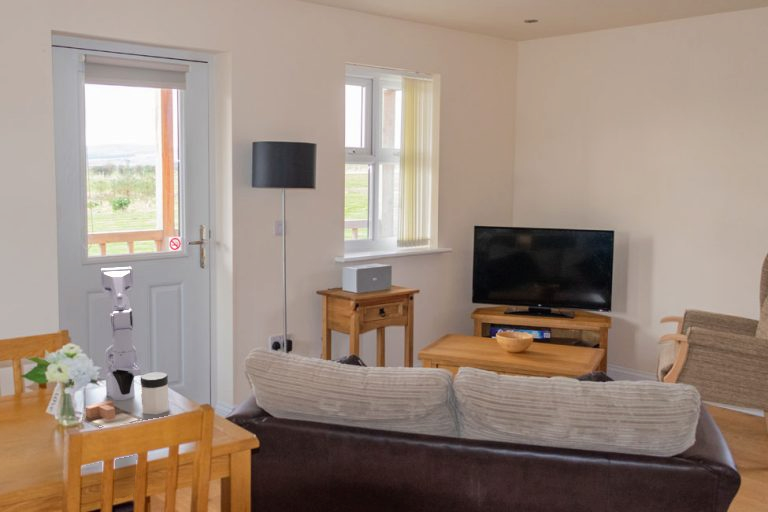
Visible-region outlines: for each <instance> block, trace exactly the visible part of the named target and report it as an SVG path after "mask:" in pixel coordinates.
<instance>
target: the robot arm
mask: <svg viewBox="0 0 768 512" xmlns="http://www.w3.org/2000/svg"><path fill="white" fill-rule="evenodd" d="M100 286H101V290H102V293H104V294H107V295H108V296H109V298H110V299H109V308H110V309H109V310H110V313H109V326H110V331H111V337H112V344H111V345H110V346H109V347H107V348H106V350H105V351H104V352H105V357H104V358H105V372H106V373H107V375H106V376H105V390H106V396H108V397H111V399H112V400H116V401H123V400H130V399H132V398H134V397H135V377H136V376H140V375H141V368H140V367H138V355H137V349H136V347H135V346H134V341H133V340H134V339H133V329H134V327H135V326H134V324H135V323H134V313H133V310H132V308H131V302H130V298H129V296H127V293H129V292H131V291H132V289H133V286H134V272H133V267H131V266H123V267H105V268H104V267H102V268H101V269H100Z"/></svg>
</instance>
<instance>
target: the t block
mask: <svg viewBox="0 0 768 512" xmlns="http://www.w3.org/2000/svg"><path fill="white" fill-rule="evenodd" d="M114 406H115V403H114V401H112V400H106V401H101V402H98V403H94V404H91V405H87V406H85V411H86V416H87V417H89V418H92V417H96V416H101V417H103V418H105V419H107V420H109V419H112V418H115V408H114Z"/></svg>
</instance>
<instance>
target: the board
mask: <svg viewBox="0 0 768 512" xmlns="http://www.w3.org/2000/svg"><path fill="white" fill-rule="evenodd" d="M114 408H115V418H112V419H109V420H107V419H105V418H103V417H101V416H96V417H92V418H89V417H87V416H86V410H85V411H83V412H84V413H83V417H82V420H81V421H83V422H85V423H87V424H90V425H92V426H94V427H96V428H97V427H98V428H97V429H100V428H102V427H108V426H116V425H120V424H126V423H130V424H132V423H131V422H134V423H137V422H140V421H143V420H145V418H143V417H141V416H139V415H136V414H135V413H131V412H129V411H126V410H124V409H122V408H120V407H117V406H115V405H114ZM140 419H142V420H140ZM136 421H137V422H136ZM99 426H102V427H99Z"/></svg>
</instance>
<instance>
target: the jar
mask: <svg viewBox="0 0 768 512" xmlns="http://www.w3.org/2000/svg"><path fill="white" fill-rule="evenodd" d="M168 378H169V376H168V373H166V372H162V371H161V372H159V371H155V372H154V371H152V372H148V373H144V374H142V375H141V376H140V386H141V394H140V395H141V405H142V414H147V415H160V414H162V413H167V412H169V411H170V408H169V407H170V405H169V402H170V401H169V384H168V383H169V379H168Z"/></svg>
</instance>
